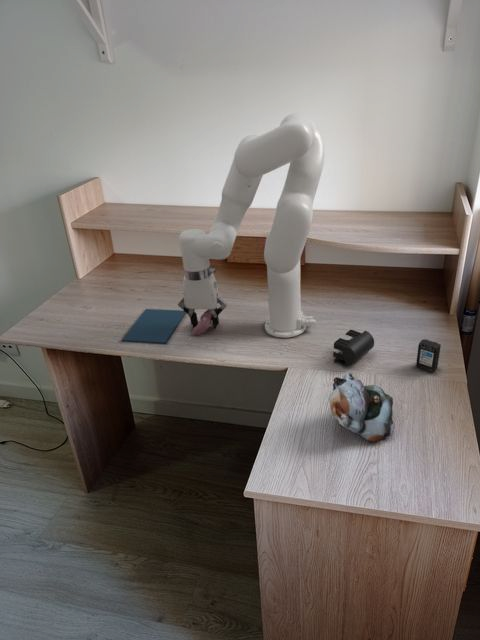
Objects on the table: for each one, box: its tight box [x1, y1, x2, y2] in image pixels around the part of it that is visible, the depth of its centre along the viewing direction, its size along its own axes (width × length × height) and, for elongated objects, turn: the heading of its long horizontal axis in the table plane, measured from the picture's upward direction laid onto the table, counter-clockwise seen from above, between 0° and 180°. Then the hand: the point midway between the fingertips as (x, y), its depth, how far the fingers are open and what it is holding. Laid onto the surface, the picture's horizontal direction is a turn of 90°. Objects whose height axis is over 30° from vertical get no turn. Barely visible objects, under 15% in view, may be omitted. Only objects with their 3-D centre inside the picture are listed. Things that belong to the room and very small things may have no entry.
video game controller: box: [191, 309, 213, 336], centre depth 159 cm, size 10×5×7 cm, turn 168°
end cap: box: [332, 329, 375, 367], centre depth 140 cm, size 10×7×7 cm
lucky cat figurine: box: [328, 372, 395, 443], centre depth 115 cm, size 15×12×14 cm
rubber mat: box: [121, 308, 187, 345], centre depth 163 cm, size 14×20×1 cm
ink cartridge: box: [415, 338, 442, 374], centre depth 134 cm, size 5×2×8 cm, turn 51°
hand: (205, 326), depth 160 cm, fingers closed on video game controller, 5 cm apart
